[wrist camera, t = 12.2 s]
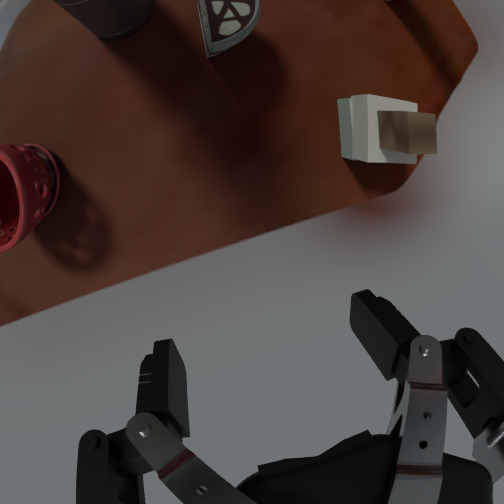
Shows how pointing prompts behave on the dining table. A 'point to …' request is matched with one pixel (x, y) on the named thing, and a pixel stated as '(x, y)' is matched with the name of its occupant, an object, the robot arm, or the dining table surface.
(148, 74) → the dining table surface
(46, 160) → the plant pot
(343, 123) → the tower base
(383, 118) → the walnut block
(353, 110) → the tower top
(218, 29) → the food container
